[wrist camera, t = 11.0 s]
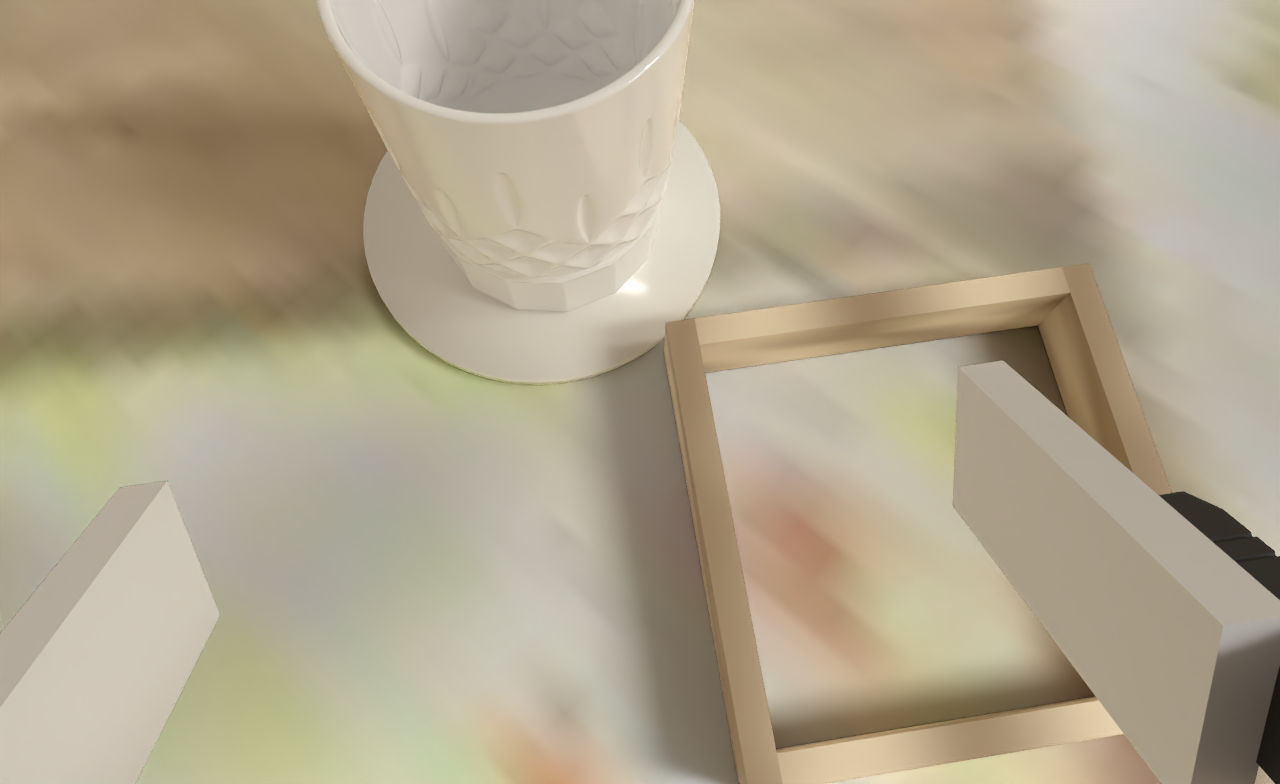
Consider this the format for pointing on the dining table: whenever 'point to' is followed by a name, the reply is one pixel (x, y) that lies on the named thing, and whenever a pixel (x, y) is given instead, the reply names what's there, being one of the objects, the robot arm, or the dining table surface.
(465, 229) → the white cup
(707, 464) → the frame
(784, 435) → the dining table surface
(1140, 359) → the dining table surface
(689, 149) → the coaster
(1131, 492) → the robot arm
